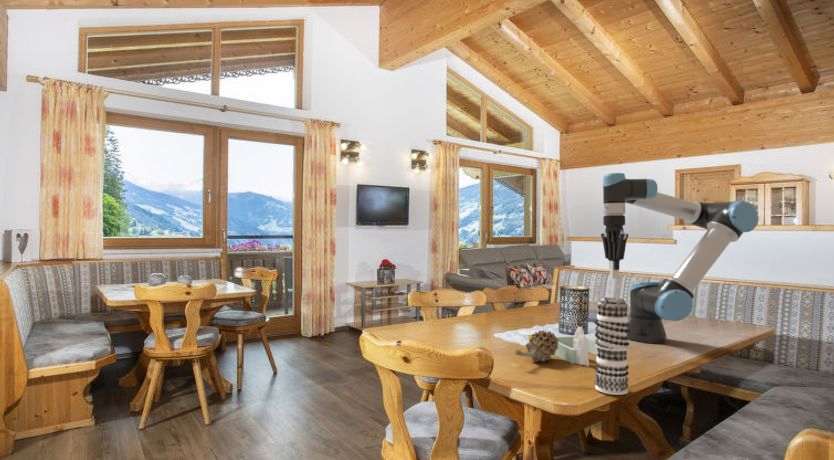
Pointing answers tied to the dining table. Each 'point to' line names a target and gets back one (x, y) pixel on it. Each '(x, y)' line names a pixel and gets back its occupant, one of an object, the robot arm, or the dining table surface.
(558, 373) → the dining table surface
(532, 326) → the dining table surface
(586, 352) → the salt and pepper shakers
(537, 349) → the pine cone
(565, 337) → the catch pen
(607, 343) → the decorative candle
